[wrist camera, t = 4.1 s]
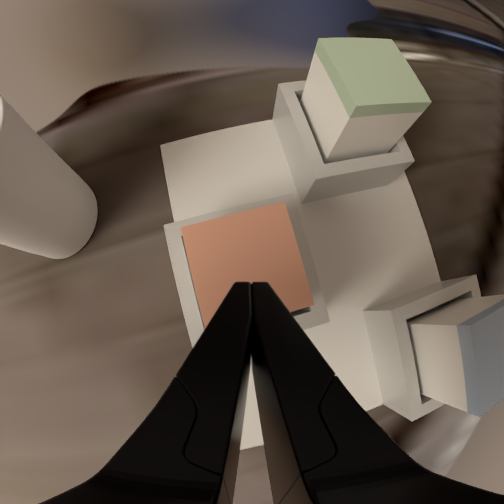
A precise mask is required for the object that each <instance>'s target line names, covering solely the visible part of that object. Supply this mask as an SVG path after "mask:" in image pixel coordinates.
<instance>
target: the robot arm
mask: <svg viewBox="0 0 504 504" xmlns="http://www.w3.org/2000/svg"><path fill="white" fill-rule="evenodd" d="M251 364H252V373H253V379H254V386H255V392H256V399H257V405H258V411H259V418H260V424H261V430H262V436H263V442H264V449H265V455H266V461H267V467H268V473H269V479H270V485H271V490H272V496H273V502H274V504H504V495H501V494H497V493H493V492H490V491H487V490H483V489H480V488H477V487H473V486H470V485H467V484H464V483H461V482H458V481H455V480H452V479H449V478H447V477H444V476H441V475H439V474H436V473H434V472H431V471H429V470H427V469H426V468H424V467H422V466H421V465H419V464H418V463H417V462H416V461H414V460H413V459H412V458H411V457H410V456H409V455H408V454H407V453H406V452H405V451H404V450H403V449H402V448H401V447H400V446H399V445H398V444H397V443H396V442H395V441H394V440H393V439H392V438H391V437H390V436H389V435H388V434H387V433H386V432H385V431H384V430H383V429H382V428H381V427H380V426H379V425H378V424H377V423H376V422H375V421H374V420H373V419H372V418H371V417H370V415H369V414H368V413H367V412H366V411H365V410H364V409H363V408H362V407H361V406H360V404H359V403H358V402H357V401H356V400H355V398H354V397H353V396H352V395H351V393H350V392H349V391H348V390H347V388H346V387H345V386H344V384H343V383H342V382H341V380H340V379H339V377H338V376H335V372H334V371H333V370H332V368H331V367H330V366H329V364H328V363H327V361H326V360H325V359H324V357H323V356H322V355H321V353H320V352H319V351H318V349H317V348H316V347H315V345H314V344H313V343H312V341H311V340H310V338H309V337H308V336H307V334H306V333H305V332H304V330H303V329H302V328H301V326H300V325H299V324H298V322H297V321H296V319H295V318H294V317H293V315H292V314H291V313H290V311H289V310H288V309H287V307H286V306H285V305H284V303H283V302H282V300H281V299H280V298H279V296H278V295H277V294H276V292H275V291H274V290H273V288H272V287H271V285H270V284H269V283H268V282H252V284H251V283H250V282H246V281H237V282H235V283H234V284H233V285H232V287H231V288H230V290H229V292H228V293H227V295H226V296H225V298H224V299H223V301H222V303H221V304H220V306H219V307H218V309H217V311H216V312H215V314H214V315H213V317H212V319H211V320H210V322H209V323H208V325H207V326H206V328H205V330H204V331H203V333H202V334H201V336H200V338H199V339H198V341H197V342H196V344H195V345H194V347H193V349H192V350H191V352H190V353H189V355H188V357H187V358H186V360H185V361H184V363H183V365H182V366H181V368H180V369H179V371H178V372H177V374H176V377H174V378H173V380H172V382H171V383H170V385H169V386H168V388H167V390H166V391H165V393H164V394H163V395H162V397H161V398H160V400H159V401H158V403H157V404H156V406H155V407H154V408H153V410H152V411H151V412H150V413H149V415H148V416H147V417H146V418H145V420H144V421H143V422H142V423H141V425H140V426H139V427H138V428H137V429H136V431H135V432H134V433H133V434H132V435H131V436H130V438H129V439H128V440H127V441H126V442H125V443H124V444H123V446H122V447H121V448H120V449H119V450H118V451H117V453H116V454H115V455H114V456H113V457H112V458H111V459H110V461H109V462H108V463H107V464H106V465H105V466H104V467H103V468H102V469H101V470H100V471H99V472H98V473H97V474H95V475H94V476H93V477H92V478H90V479H89V480H87V481H86V482H84V483H82V484H80V485H78V486H76V487H74V488H72V489H70V490H68V491H66V492H64V493H62V494H59V495H57V496H55V497H53V498H51V499H48V500H46V501H44V502H42V503H39V504H233V497H234V489H235V482H236V475H237V467H238V460H239V453H240V445H241V437H242V430H243V422H244V414H245V407H246V399H247V391H248V383H249V375H250V365H251Z"/></svg>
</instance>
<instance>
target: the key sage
mask: <svg viewBox="0 0 504 504" xmlns="http://www.w3.org/2000/svg"><path fill="white" fill-rule="evenodd" d="M431 103H432V102H431V100H430V98H429V96H428V95H427V93H426V91H425V90H424V88H423V86H422V85H421V83H420V81H419V80H418V78H417V76H416V75H415V73H414V72H413V70H412V69H411V67H410V65H409V64H408V62H407V61H406V59H405V58H404V56H403V55H402V54H401V52H400V51H399V49H398V48H397V46H396V45H395V44H394V42H393V41H392V39H376V38H319V39H318V42H317V45H316V49H315V52H314V56H313V59H312V63H311V66H310V70H309V73H308V77H307V80H306V84H305V87H304V91H303V94H302V98H301V101H300V105H301V108H302V110H303V112H304V115H305V117H306V120H307V122H308V124H309V127H310V129H311V132H312V134H313V137H314V139H315V142H316V144H317V147H318V149H319V152H320V155H321V157H322V160H323V163H324V164H327V163H332V162H338V161H343V160H349V159H355V158H361V157H367V156H373V155H380V154H386V153H388V152H389V151H390V149H391V148H392V147H393V146H394V145H395V144H396V143H397V142H398V140H399V139H400V138H401V137H402V136H403V135H404V134H405V132H406V131H407V130H408V129H409V128H410V127H411V126H412V124H413V123H414V122H415V121H416V120H417V119H418V118H419V116H420V115H421V114H422V113H423V112H424V111H425V110H426V108H427V107H428V106H429V105H430V104H431Z"/></svg>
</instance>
